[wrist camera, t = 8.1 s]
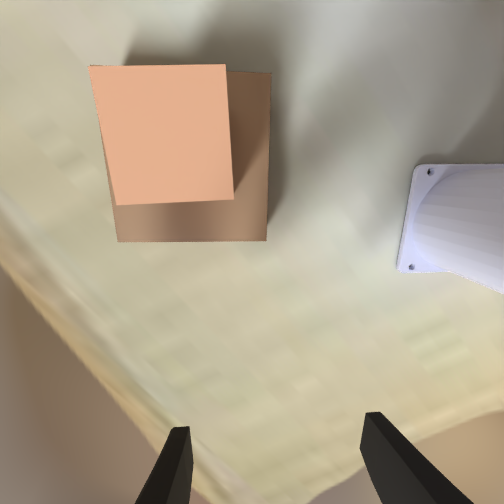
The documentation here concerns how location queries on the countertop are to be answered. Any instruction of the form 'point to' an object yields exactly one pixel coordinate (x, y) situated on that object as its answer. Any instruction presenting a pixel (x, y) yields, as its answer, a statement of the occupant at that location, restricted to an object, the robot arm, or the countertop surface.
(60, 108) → the countertop surface
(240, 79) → the walnut box
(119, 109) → the peach block
